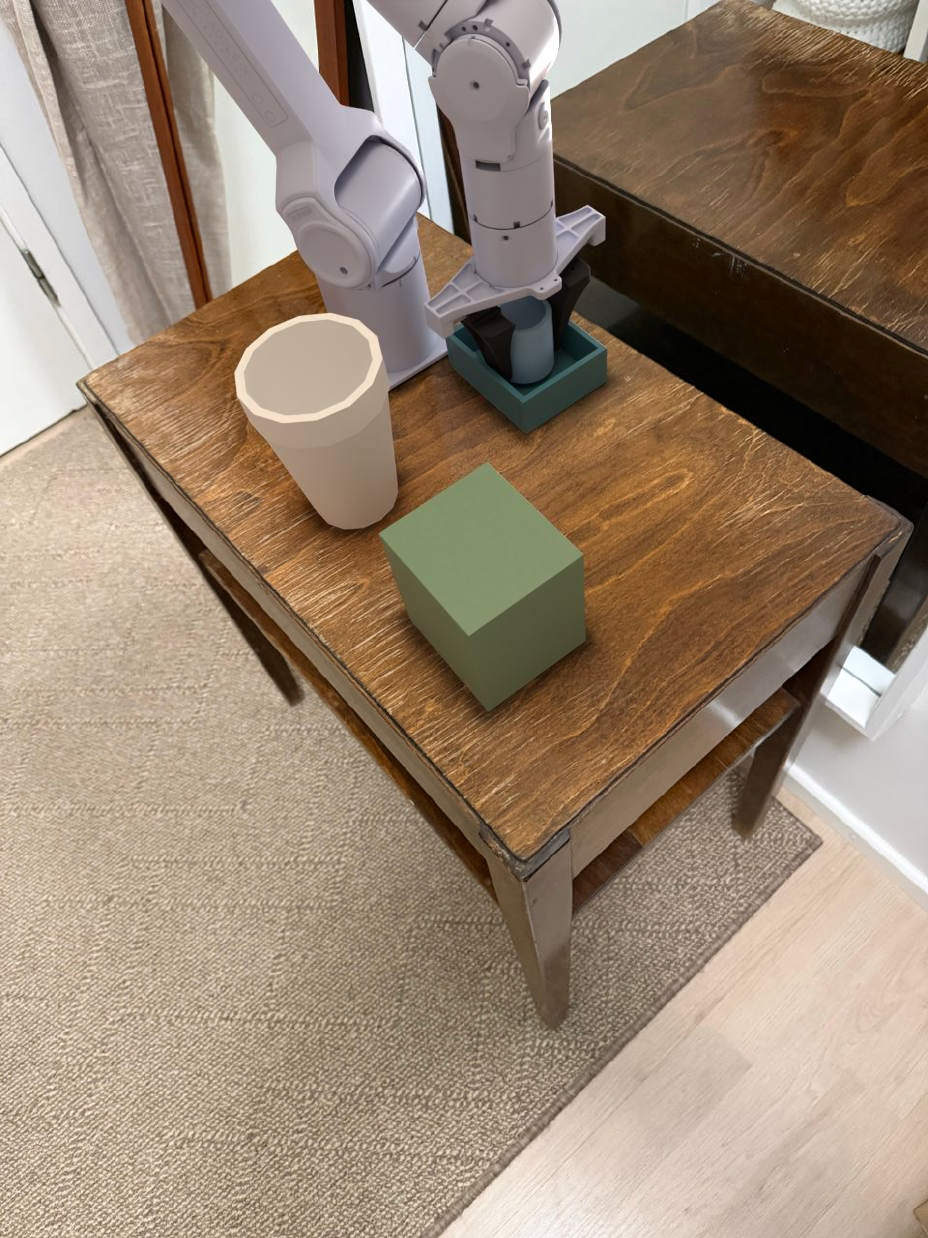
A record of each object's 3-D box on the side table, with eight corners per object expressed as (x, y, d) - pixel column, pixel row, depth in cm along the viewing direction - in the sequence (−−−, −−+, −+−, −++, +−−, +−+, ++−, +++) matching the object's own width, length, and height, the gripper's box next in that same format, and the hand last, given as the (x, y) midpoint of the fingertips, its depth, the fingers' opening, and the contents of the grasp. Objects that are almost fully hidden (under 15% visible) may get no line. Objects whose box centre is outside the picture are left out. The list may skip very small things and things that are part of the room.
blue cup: (486, 362, 70) (479, 311, 65) (530, 335, 70) (526, 282, 66) (521, 392, 67) (515, 341, 63) (565, 363, 68) (563, 311, 64)
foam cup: (354, 429, 69) (308, 294, 58) (443, 479, 66) (412, 346, 54) (270, 510, 66) (204, 384, 55) (359, 568, 62) (307, 446, 51)
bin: (450, 366, 71) (443, 333, 68) (527, 317, 73) (524, 283, 70) (526, 434, 67) (522, 403, 64) (607, 381, 68) (607, 348, 65)
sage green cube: (409, 618, 60) (377, 533, 51) (502, 554, 61) (486, 461, 53) (488, 712, 56) (468, 636, 47) (586, 640, 57) (584, 554, 49)
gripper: (456, 285, 54) (481, 436, 65) (637, 176, 57) (630, 339, 68) (393, 232, 57) (427, 385, 69) (567, 132, 60) (572, 294, 72)
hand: (525, 359), depth 69 cm, fingers closed on blue cup, 4 cm apart
